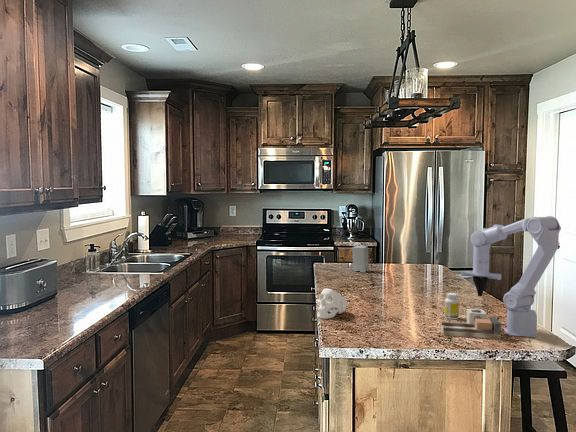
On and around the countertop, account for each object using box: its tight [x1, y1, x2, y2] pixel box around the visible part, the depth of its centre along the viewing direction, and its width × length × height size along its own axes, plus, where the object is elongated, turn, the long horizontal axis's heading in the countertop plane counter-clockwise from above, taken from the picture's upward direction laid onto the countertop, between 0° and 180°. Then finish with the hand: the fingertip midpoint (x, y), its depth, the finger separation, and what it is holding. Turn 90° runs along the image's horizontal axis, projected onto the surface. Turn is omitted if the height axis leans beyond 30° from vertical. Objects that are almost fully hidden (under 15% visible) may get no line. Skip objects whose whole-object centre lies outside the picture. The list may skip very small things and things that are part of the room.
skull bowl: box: [316, 288, 348, 320], centre depth 195 cm, size 10×14×12 cm
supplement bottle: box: [444, 292, 460, 320], centre depth 191 cm, size 5×5×10 cm
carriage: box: [475, 318, 492, 330], centre depth 170 cm, size 5×5×3 cm
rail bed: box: [440, 316, 502, 340], centre depth 171 cm, size 19×9×6 cm, turn 78°
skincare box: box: [351, 245, 370, 273], centre depth 294 cm, size 8×7×16 cm
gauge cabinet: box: [466, 308, 487, 324], centre depth 180 cm, size 6×6×6 cm
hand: (480, 295), depth 185 cm, fingers closed
